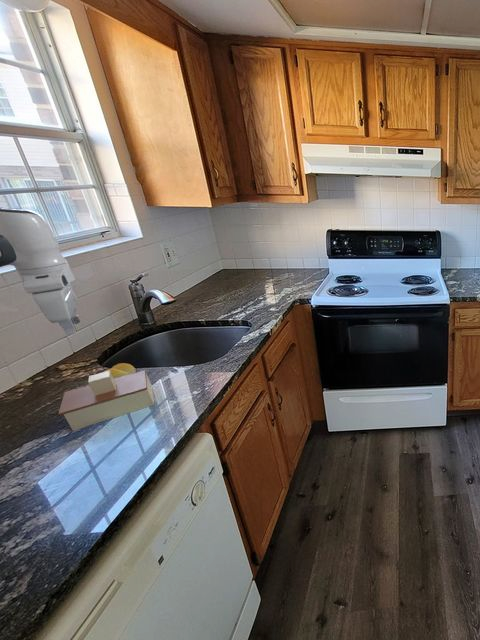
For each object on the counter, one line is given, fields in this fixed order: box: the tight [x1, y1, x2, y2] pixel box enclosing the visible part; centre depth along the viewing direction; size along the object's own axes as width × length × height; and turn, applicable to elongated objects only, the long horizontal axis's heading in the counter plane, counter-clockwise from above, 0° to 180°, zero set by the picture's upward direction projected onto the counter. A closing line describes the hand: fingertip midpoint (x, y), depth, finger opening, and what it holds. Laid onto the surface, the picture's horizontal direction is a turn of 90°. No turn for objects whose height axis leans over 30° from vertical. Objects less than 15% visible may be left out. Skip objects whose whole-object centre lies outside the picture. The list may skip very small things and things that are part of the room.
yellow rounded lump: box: [101, 362, 137, 379], centre depth 121 cm, size 8×9×4 cm
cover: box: [57, 369, 147, 417], centre depth 104 cm, size 18×14×1 cm
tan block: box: [87, 371, 116, 396], centre depth 103 cm, size 4×4×4 cm
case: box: [63, 373, 155, 432], centre depth 105 cm, size 18×14×5 cm
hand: (74, 328), depth 96 cm, fingers open, 8 cm apart
